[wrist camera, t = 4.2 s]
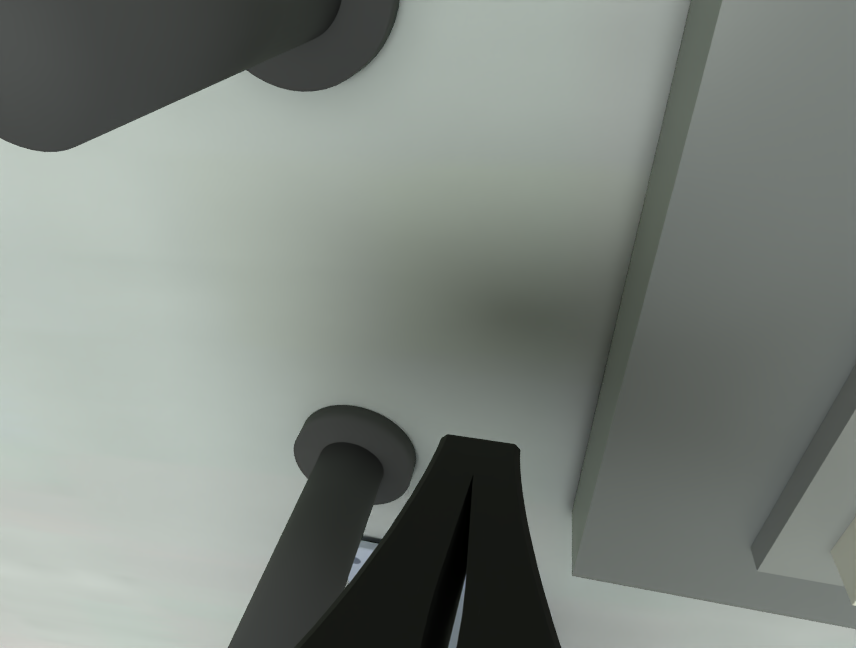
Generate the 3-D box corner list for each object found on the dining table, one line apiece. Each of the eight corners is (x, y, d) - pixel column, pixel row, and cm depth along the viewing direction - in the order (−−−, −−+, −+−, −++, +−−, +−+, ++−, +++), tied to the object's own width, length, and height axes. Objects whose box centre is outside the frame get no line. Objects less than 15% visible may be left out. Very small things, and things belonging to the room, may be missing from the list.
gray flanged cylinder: (416, 496, 22) (352, 734, 15) (310, 477, 22) (206, 697, 16) (414, 415, 19) (335, 660, 13) (294, 397, 20) (163, 621, 13)
